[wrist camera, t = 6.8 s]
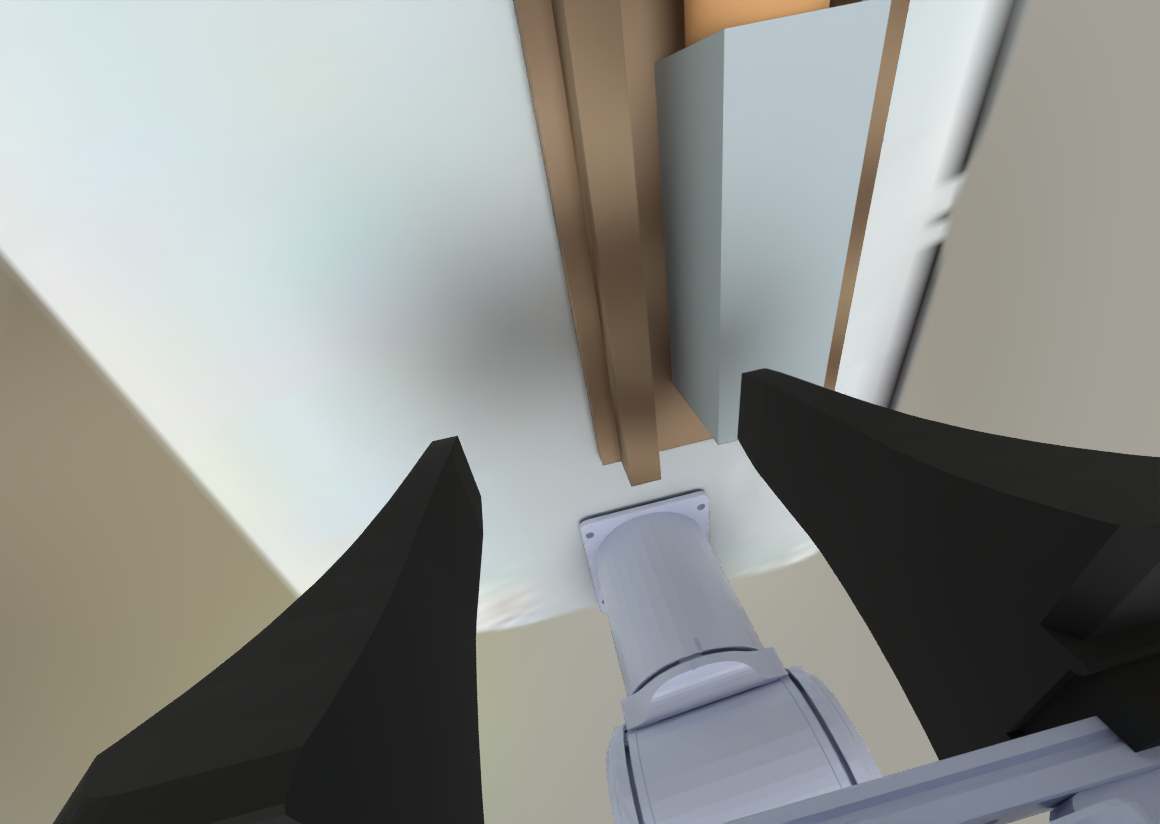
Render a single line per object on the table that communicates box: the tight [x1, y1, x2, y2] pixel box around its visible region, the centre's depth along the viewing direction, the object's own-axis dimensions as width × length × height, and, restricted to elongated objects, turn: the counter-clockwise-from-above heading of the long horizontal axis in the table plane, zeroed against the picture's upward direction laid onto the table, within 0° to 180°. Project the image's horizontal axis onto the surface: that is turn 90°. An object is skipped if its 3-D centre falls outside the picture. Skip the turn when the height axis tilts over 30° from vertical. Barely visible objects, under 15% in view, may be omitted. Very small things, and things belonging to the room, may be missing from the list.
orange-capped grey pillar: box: [654, 0, 891, 445], centre depth 14 cm, size 14×4×5 cm, turn 10°
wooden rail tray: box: [513, 0, 910, 487], centre depth 16 cm, size 21×12×3 cm, turn 10°
